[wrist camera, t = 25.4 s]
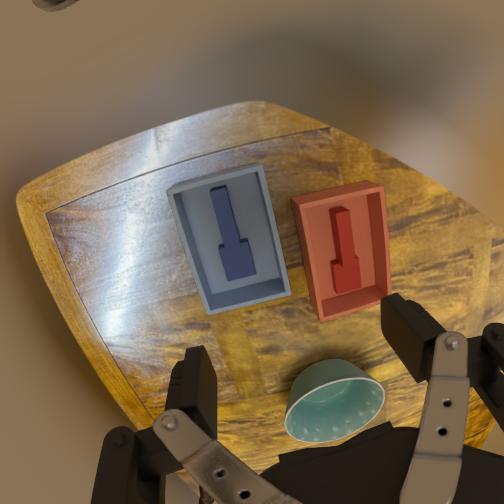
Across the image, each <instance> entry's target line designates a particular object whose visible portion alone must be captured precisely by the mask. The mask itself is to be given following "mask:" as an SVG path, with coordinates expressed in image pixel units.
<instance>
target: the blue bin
mask: <svg viewBox="0 0 504 504" xmlns="http://www.w3.org/2000/svg"><path fill="white" fill-rule="evenodd" d="M222 185H226V187H227V191H228V195H229V199H230V203H231V207H232V210H233V214H234V218H235V222H236V226H237V230H238V233H239V237H240V239H244V238H248V242H249V246H250V250H251V254H252V258H253V262H254V265H255V269H256V275H252V276H248V277H244V278H240V279H236V280H232V281H227V277H226V274H225V270H224V267H223V264H222V260H221V257H220V253H219V250H218V246H219V245H220V244H224V243H223V240H222V236H221V232H220V229H219V225H218V222H217V218H216V214H215V211H214V207H213V204H212V200H211V196H210V193H209V192H210V189H211V188H214V187H218V186H222ZM166 193H167V196H168V199H169V203H170V206H171V209H172V213H173V216H174V219H175V222H176V225H177V229H178V232H179V235H180V238H181V241H182V244H183V247H184V250H185V253H186V256H187V259H188V262H189V265H190V268H191V271H192V274H193V277H194V280H195V283H196V285H197V288H198V291H199V294H200V297H201V300H202V302H203V305H204V308H205V311H206V313H207V315H212V314H216V313H220V312H225V311H229V310H233V309H237V308H241V307H245V306H249V305H254V304H258V303H261V302H265V301H269V300H273V299H277V298H281V297H285V296H289V295H291V290H290V285H289V280H288V275H287V271H286V266H285V261H284V257H283V252H282V248H281V243H280V239H279V234H278V230H277V225H276V221H275V216H274V212H273V208H272V203H271V199H270V195H269V190H268V186H267V182H266V178H265V174H264V170H263V165H262V164H260V163H258V162H257V163H253V164H249V165H245V166H240V167H237V168H233V169H229V170H225V171H221V172H217V173H214V174H210V175H206V176H203V177H199V178H196V179H192V180H189V181H185V182H182V183H178V184H175V185H173V186H172V187H170V188H169V189H168V190H166Z"/></svg>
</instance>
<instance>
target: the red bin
mask: <svg viewBox="0 0 504 504" xmlns="http://www.w3.org/2000/svg"><path fill="white" fill-rule="evenodd" d="M291 202H292V206H293V211H294V216H295V221H296V226H297V231H298V236H299V241H300V246H301V251H302V256H303V262H304V267H305V272H306V278H307V283H308V289H309V295H310V300H311V305H312V307H313V309H314V311H315V313H316V315H317V317H318V320H319V322H323V321H326V320H330V319H333V318H337V317H340V316H343V315H346V314H350V313H353V312H356V311H359V310H362V309H365V308H369V307H372V306H375V305H378V304H380V301H381V298H382V297H385V296H388V295H391V268H390V249H389V236H388V224H387V214H386V204H385V196H384V189H383V186H382V185H379V184H376V183H373V182H369V181H363V182H358V183H353V184H348V185H344V186H339V187H335V188H330V189H326V190H321V191H317V192H312V193H308V194H304V195H299V196H295V197H291ZM339 206H343V207H344V208H346V209H348V210H349V211H350V218H351V225H352V233H353V241H354V249H355V255H356V256H357V257H358V258H359V264H360V275H361V286H362V287H361V288H358V289H355V290H351V291H348V292H344V293H341V294H338V295H337V294H336V292H335V291H334V287H333V280H332V272H331V265H330V261H332V260H336V253H335V246H334V240H333V233H332V227H331V221H330V214H329V209H331V208H335V207H339Z"/></svg>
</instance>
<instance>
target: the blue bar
mask: <svg viewBox="0 0 504 504" xmlns="http://www.w3.org/2000/svg"><path fill="white" fill-rule="evenodd" d="M209 193H210V196H211V200H212V204H213V207H214V211H215V214H216V218H217V222H218V225H219V229H220V232H221V236H222V240H223V243H224V244H220V245H219V246H218V250H219V253H220V257H221V260H222V264H223V267H224V270H225V274H226V277H227V281H232V280H236V279H240V278H244V277H248V276H252V275H256V269H255V265H254V262H253V258H252V254H251V250H250V246H249V242H248V238H244V239H240V237H239V233H238V230H237V226H236V222H235V218H234V214H233V210H232V207H231V203H230V199H229V195H228V191H227V187H226V185H222V186H218V187H214V188H211V189H210V192H209Z"/></svg>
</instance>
